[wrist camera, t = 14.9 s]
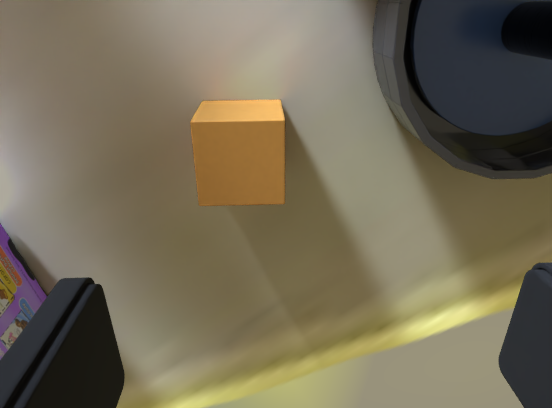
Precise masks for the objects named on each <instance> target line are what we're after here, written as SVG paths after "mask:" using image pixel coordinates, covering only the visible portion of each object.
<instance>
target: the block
mask: <svg viewBox="0 0 552 408" xmlns="http://www.w3.org/2000/svg"><path fill="white" fill-rule="evenodd" d="M190 125H191V135H192V145H193V154H194V164H195V173H196V183H197V193H198V202H199V206H223V205H265V204H285V117H284V113H283V108H282V104H281V100H220V101H202V102H201V104H200V106H199V107H198V109H197V111H196V113H195V114H194V116H193V118H192V120H191V121H190Z"/></svg>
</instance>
